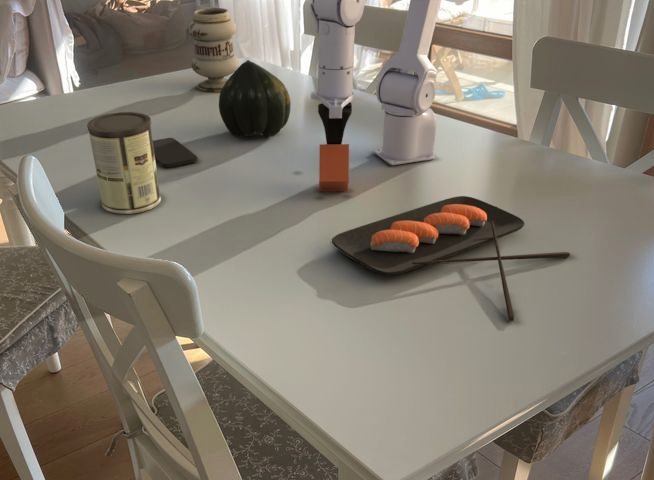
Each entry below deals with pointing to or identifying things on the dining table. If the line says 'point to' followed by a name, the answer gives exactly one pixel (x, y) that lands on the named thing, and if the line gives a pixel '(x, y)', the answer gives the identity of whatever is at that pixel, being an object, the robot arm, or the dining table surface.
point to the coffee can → (125, 162)
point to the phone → (172, 153)
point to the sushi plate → (433, 237)
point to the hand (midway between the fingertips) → (333, 147)
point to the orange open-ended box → (334, 167)
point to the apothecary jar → (213, 47)
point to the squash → (254, 102)
